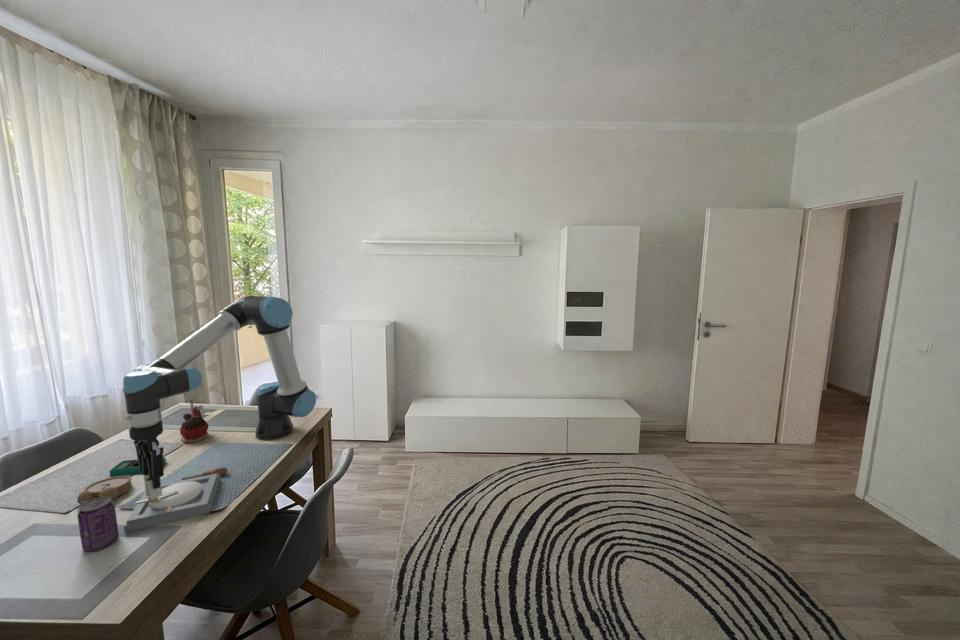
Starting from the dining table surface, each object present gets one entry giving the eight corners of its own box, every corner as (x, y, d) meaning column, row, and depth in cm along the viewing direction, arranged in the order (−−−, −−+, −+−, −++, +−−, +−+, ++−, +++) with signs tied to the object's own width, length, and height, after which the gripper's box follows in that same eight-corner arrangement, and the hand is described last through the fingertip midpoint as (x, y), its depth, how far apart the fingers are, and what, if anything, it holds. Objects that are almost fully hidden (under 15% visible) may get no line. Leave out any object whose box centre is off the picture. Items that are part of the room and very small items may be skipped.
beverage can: (99, 535, 107) (93, 496, 106) (126, 534, 108) (120, 495, 106) (74, 554, 100) (68, 512, 99) (103, 552, 101) (97, 511, 99)
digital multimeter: (157, 472, 140) (156, 465, 140) (108, 477, 137) (107, 469, 136) (168, 462, 147) (167, 455, 147) (122, 467, 144) (121, 459, 143)
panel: (220, 480, 135) (219, 471, 135) (209, 513, 117) (208, 503, 117) (147, 494, 126) (146, 485, 126) (124, 532, 108) (123, 521, 108)
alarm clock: (138, 473, 134) (111, 490, 119) (138, 487, 134) (111, 506, 119) (98, 478, 130) (66, 496, 116) (99, 492, 130) (66, 512, 116)
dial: (195, 481, 130) (192, 453, 129) (207, 495, 122) (204, 466, 121) (145, 498, 121) (142, 468, 119) (155, 515, 112) (151, 484, 111)
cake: (175, 441, 164) (171, 401, 162) (198, 432, 173) (194, 394, 170) (192, 445, 160) (188, 404, 158) (214, 436, 169) (210, 397, 166)
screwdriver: (228, 472, 140) (227, 465, 140) (227, 475, 138) (226, 468, 138) (183, 480, 135) (182, 473, 134) (181, 484, 132) (181, 477, 132)
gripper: (118, 421, 114) (127, 493, 117) (141, 434, 106) (150, 510, 110) (149, 413, 120) (157, 481, 124) (173, 424, 113) (180, 497, 116)
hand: (154, 495), depth 117 cm, fingers open, 2 cm apart
